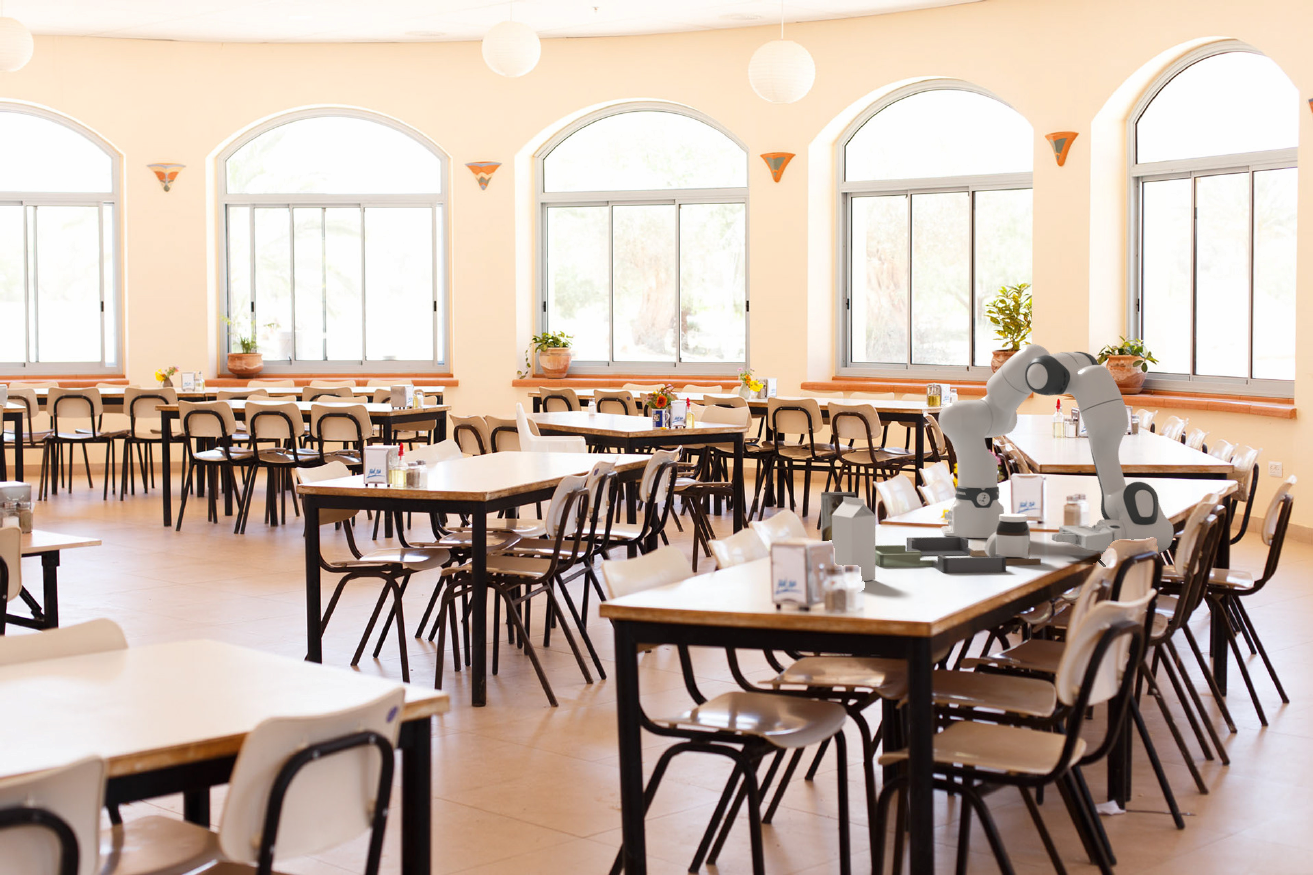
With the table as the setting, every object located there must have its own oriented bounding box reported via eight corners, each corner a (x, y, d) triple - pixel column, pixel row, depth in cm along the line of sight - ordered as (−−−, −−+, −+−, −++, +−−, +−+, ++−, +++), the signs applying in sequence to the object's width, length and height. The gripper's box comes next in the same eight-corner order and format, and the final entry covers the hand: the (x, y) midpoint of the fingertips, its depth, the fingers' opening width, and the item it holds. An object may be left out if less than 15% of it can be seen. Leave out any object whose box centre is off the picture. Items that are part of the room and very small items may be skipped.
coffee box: (855, 552, 347) (855, 491, 346) (856, 556, 340) (857, 493, 339) (820, 552, 348) (820, 491, 347) (821, 555, 341) (821, 493, 340)
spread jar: (1023, 565, 324) (1023, 518, 323) (977, 562, 329) (978, 515, 329) (1035, 558, 334) (1035, 513, 334) (990, 555, 340) (990, 510, 339)
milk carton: (851, 583, 299) (851, 500, 298) (831, 579, 305) (831, 497, 304) (875, 580, 303) (875, 498, 302) (855, 576, 309) (855, 495, 308)
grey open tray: (906, 550, 349) (906, 537, 349) (962, 549, 350) (962, 536, 350) (916, 556, 339) (916, 542, 339) (973, 555, 340) (973, 542, 339)
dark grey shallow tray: (932, 566, 323) (932, 551, 323) (992, 565, 324) (992, 551, 323) (943, 572, 312) (943, 558, 312) (1005, 572, 313) (1006, 557, 313)
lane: (866, 557, 338) (866, 545, 338) (1019, 555, 340) (1019, 543, 340) (879, 566, 322) (879, 554, 322) (1040, 564, 324) (1040, 552, 324)
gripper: (1092, 519, 343) (1039, 520, 342) (1123, 529, 323) (1068, 530, 322) (1092, 543, 343) (1039, 544, 343) (1123, 555, 323) (1067, 555, 322)
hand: (1053, 537), depth 332 cm, fingers closed
